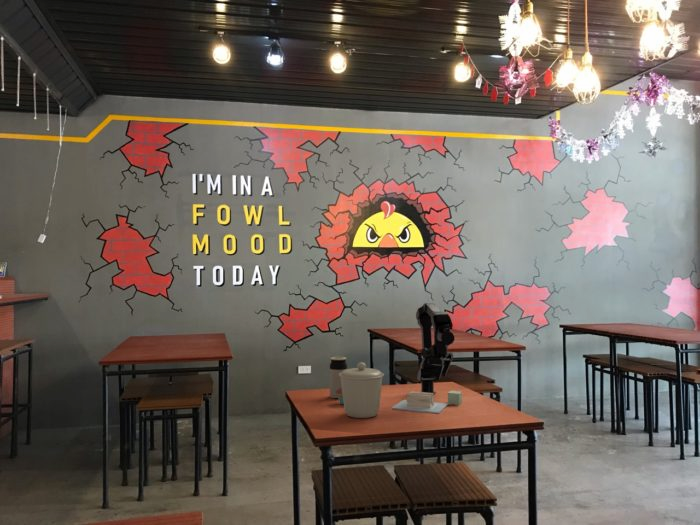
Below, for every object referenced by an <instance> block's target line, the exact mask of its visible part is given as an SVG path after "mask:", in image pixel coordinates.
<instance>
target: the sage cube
mask: <svg viewBox="0 0 700 525" xmlns="http://www.w3.org/2000/svg"><path fill="white" fill-rule="evenodd" d="M462 403H463V392H462V390H461V391H460V390H459V391H458V390H450V391H448V392H447V404H448V405H451V404H455V405H454V406H460V405H461V404H462Z"/></svg>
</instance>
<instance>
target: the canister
mask: <svg viewBox="0 0 700 525" xmlns="http://www.w3.org/2000/svg"><path fill="white" fill-rule="evenodd" d="M356 367H357V368H356ZM356 367H354V368H353V367H352V368H347V370H344V371H343V372H341V373H340V374H339V376H340V377H341V386H342V395H343V403H344V405H343V408H344V412H345V414H346V415H347V416H349V417H350V418H354V419H355V418H356V419H369V418H373V417H376V416H377V414H378V413H379V410H380V403H381V397H382V396H381V393H382V386H383V377H384V376H385V373H383V372H381V371H380V370H379V369H376V368H369V367H367V365H366V363H365V362H361V361H360V362H357V364H356Z"/></svg>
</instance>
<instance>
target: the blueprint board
mask: <svg viewBox="0 0 700 525" xmlns="http://www.w3.org/2000/svg"><path fill="white" fill-rule="evenodd" d="M447 405H448V406H449V404H448V402H447V403H444V402H434V405H433V406H432V407H431V408H422V407H410V406H407V399H403V400H401V401H400V402H398V403H397V404H395V405H393V406H392V407H391V409H392V410H399V411H407V412H408V411H409V412H416V413H417V412H419V413H426V412H427V414H429V413H430V414H437V413H439V414H440V413H441V412H443V411H444V408H445V407H446V406H447ZM448 406H447V407H448ZM447 407H446V408H447ZM446 408H445V409H446Z"/></svg>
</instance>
